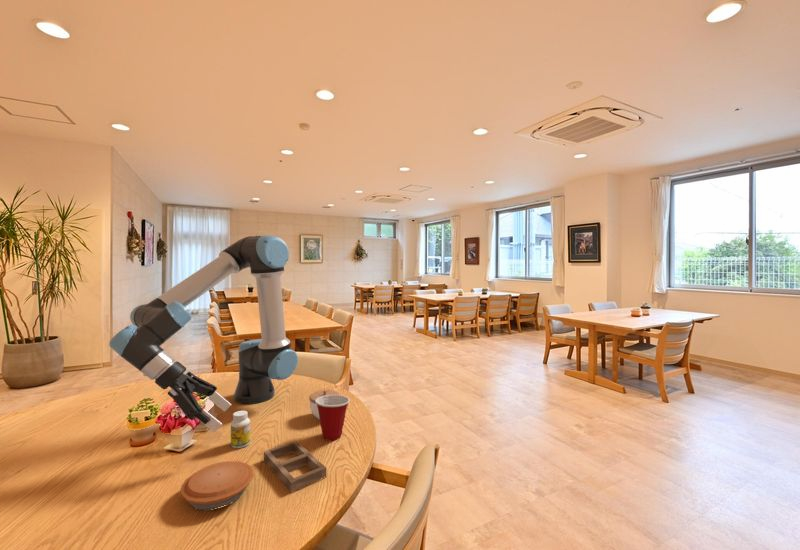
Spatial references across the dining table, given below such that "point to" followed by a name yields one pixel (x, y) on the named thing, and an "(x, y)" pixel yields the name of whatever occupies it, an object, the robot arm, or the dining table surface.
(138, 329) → the robot arm
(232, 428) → the supplement bottle
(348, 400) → the plastic cup
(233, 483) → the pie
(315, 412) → the lidded jar
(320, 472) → the two-window wooden frame
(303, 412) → the dining table surface
